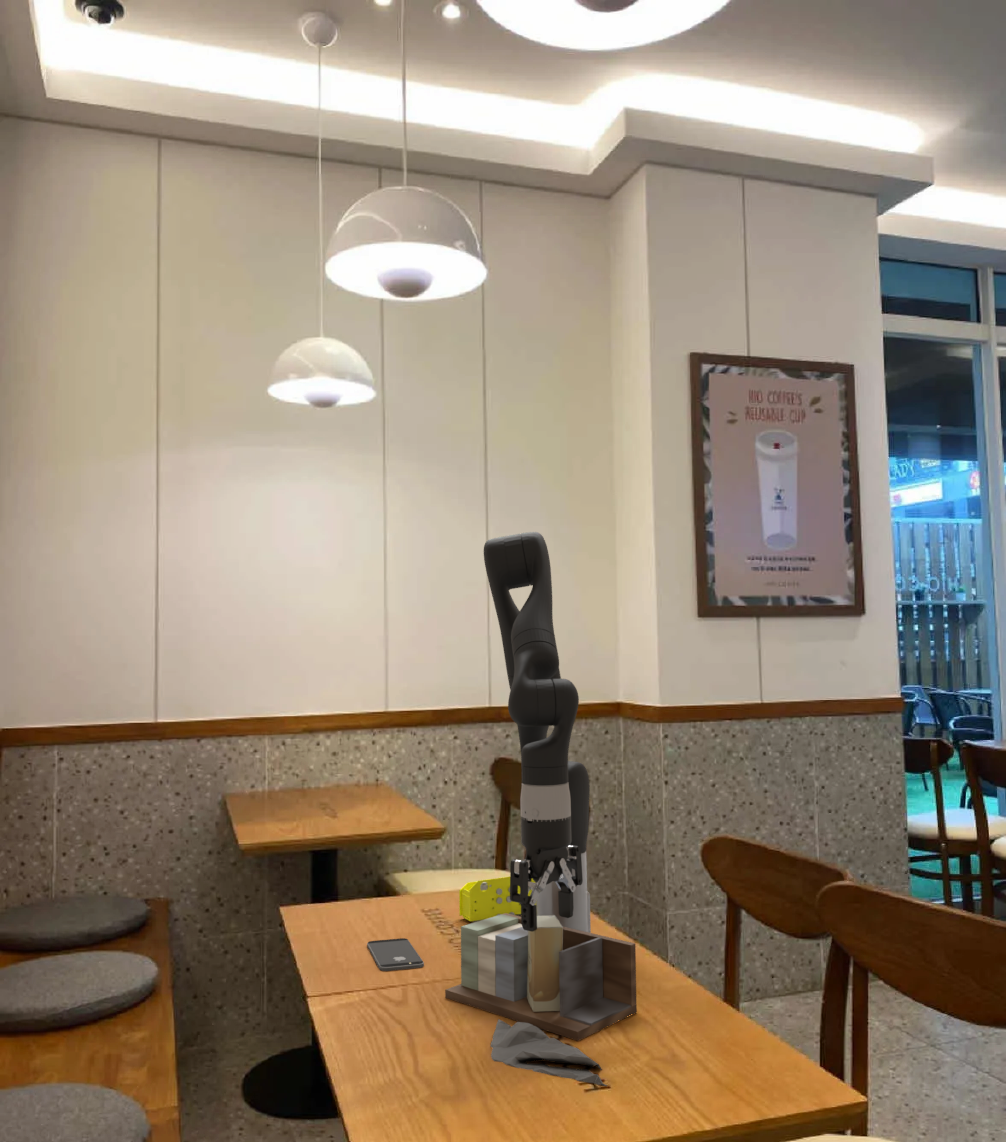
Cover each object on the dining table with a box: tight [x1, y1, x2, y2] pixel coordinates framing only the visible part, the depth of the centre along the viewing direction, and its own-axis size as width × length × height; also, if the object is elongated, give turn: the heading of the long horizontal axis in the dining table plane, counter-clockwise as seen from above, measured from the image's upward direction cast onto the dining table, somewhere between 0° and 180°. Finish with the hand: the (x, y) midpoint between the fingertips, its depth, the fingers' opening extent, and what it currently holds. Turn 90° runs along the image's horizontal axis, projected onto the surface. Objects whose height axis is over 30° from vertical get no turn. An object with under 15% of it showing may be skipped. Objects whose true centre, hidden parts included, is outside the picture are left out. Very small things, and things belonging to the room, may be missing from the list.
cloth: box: [490, 1018, 608, 1087], centre depth 136 cm, size 26×14×2 cm, turn 19°
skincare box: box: [527, 915, 563, 1012], centre depth 150 cm, size 6×4×12 cm
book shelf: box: [444, 913, 638, 1042], centre depth 153 cm, size 14×26×10 cm, turn 48°
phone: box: [366, 937, 425, 972], centre depth 178 cm, size 8×1×16 cm
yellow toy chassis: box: [458, 876, 536, 923], centre depth 203 cm, size 16×6×8 cm, turn 118°
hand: (548, 923), depth 150 cm, fingers open, 8 cm apart
